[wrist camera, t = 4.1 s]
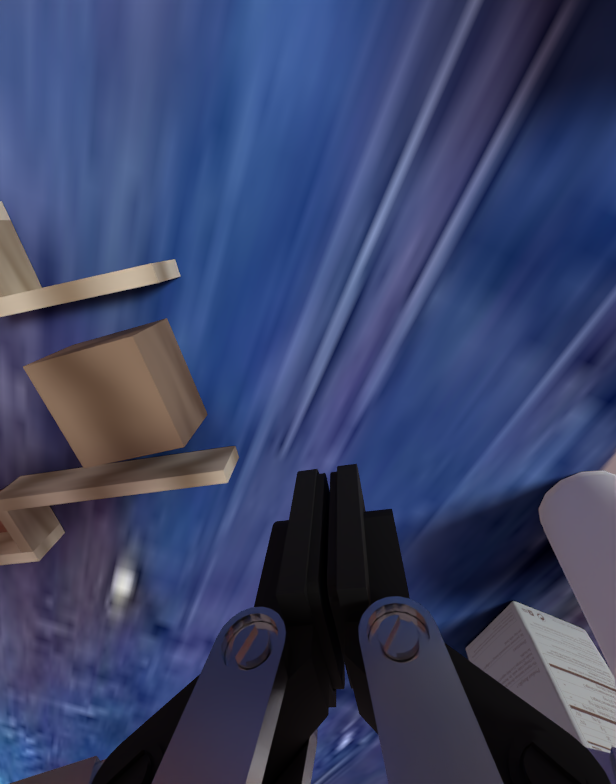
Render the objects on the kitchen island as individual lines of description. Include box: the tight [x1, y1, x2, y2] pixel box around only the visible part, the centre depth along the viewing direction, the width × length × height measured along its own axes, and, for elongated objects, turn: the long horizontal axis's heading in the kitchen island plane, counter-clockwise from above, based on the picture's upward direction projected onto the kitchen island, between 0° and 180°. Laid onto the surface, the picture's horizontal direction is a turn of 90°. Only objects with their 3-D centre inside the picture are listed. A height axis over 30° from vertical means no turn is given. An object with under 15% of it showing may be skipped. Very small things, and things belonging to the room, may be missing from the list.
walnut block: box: [23, 318, 207, 469], centre depth 24 cm, size 7×7×4 cm
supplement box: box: [466, 601, 616, 753], centre depth 27 cm, size 7×7×13 cm
